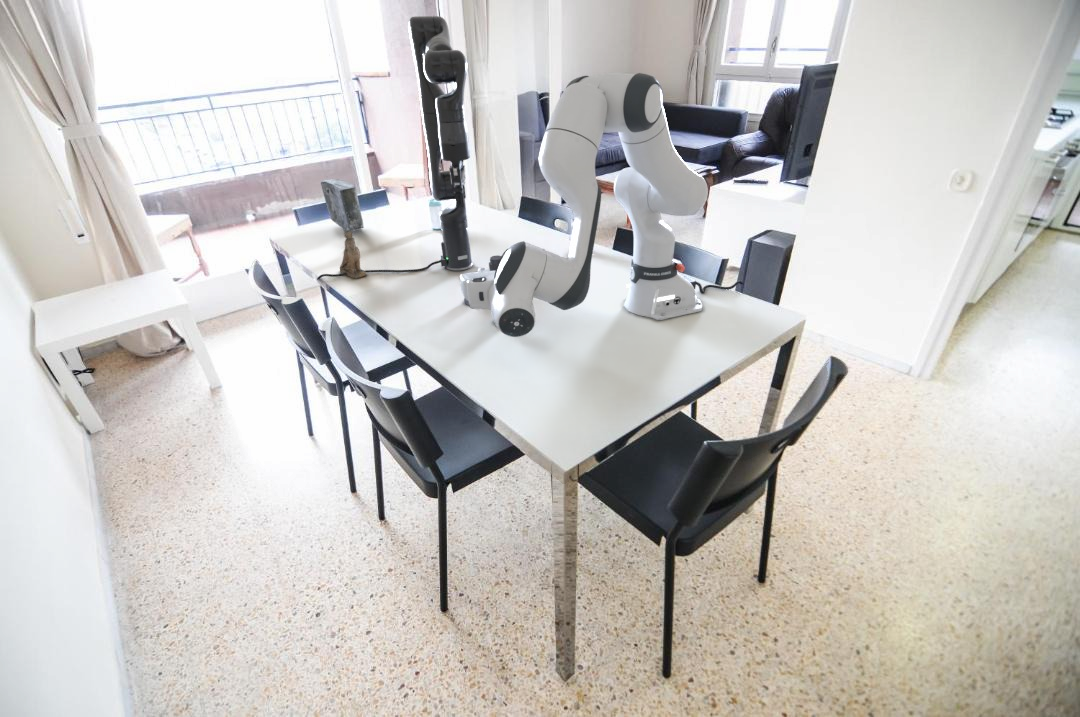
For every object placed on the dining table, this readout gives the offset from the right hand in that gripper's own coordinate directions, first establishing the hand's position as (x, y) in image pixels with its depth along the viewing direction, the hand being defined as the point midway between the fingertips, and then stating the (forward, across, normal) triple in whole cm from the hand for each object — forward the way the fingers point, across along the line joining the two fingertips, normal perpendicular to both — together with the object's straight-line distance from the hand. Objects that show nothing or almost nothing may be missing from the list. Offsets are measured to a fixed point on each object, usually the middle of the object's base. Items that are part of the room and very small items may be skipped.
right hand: (500, 269), depth 121 cm
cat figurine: (+65, -36, +20) cm, 77 cm away
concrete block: (+120, +58, +20) cm, 135 cm away
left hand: (+28, +8, -10) cm, 30 cm away
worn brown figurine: (+62, +49, +20) cm, 82 cm away
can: (+111, +18, +20) cm, 114 cm away
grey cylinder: (+12, 0, +20) cm, 24 cm away
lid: (+28, +8, +19) cm, 35 cm away
